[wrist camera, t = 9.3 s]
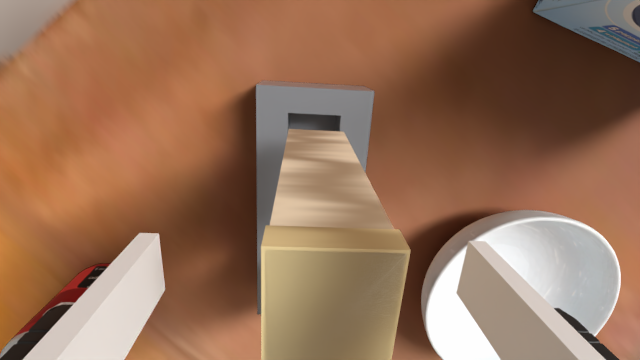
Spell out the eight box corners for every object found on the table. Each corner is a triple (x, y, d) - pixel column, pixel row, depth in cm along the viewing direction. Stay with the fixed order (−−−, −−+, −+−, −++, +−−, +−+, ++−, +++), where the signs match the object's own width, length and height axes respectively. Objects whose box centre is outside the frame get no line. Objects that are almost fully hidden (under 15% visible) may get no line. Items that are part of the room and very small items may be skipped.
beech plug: (285, 205, 26) (261, 404, 11) (287, 127, 24) (261, 246, 9) (338, 207, 27) (383, 404, 12) (345, 130, 24) (410, 249, 10)
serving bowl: (601, 270, 43) (654, 308, 36) (464, 357, 47) (490, 405, 41) (521, 154, 37) (567, 175, 30) (372, 266, 41) (385, 305, 34)
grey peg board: (262, 284, 41) (257, 314, 36) (262, 80, 33) (255, 84, 28) (344, 286, 42) (349, 315, 37) (364, 86, 33) (374, 91, 29)
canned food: (159, 293, 41) (110, 374, 31) (110, 324, 42) (48, 411, 32) (112, 249, 38) (42, 320, 28) (62, 282, 40) (-23, 362, 29)
